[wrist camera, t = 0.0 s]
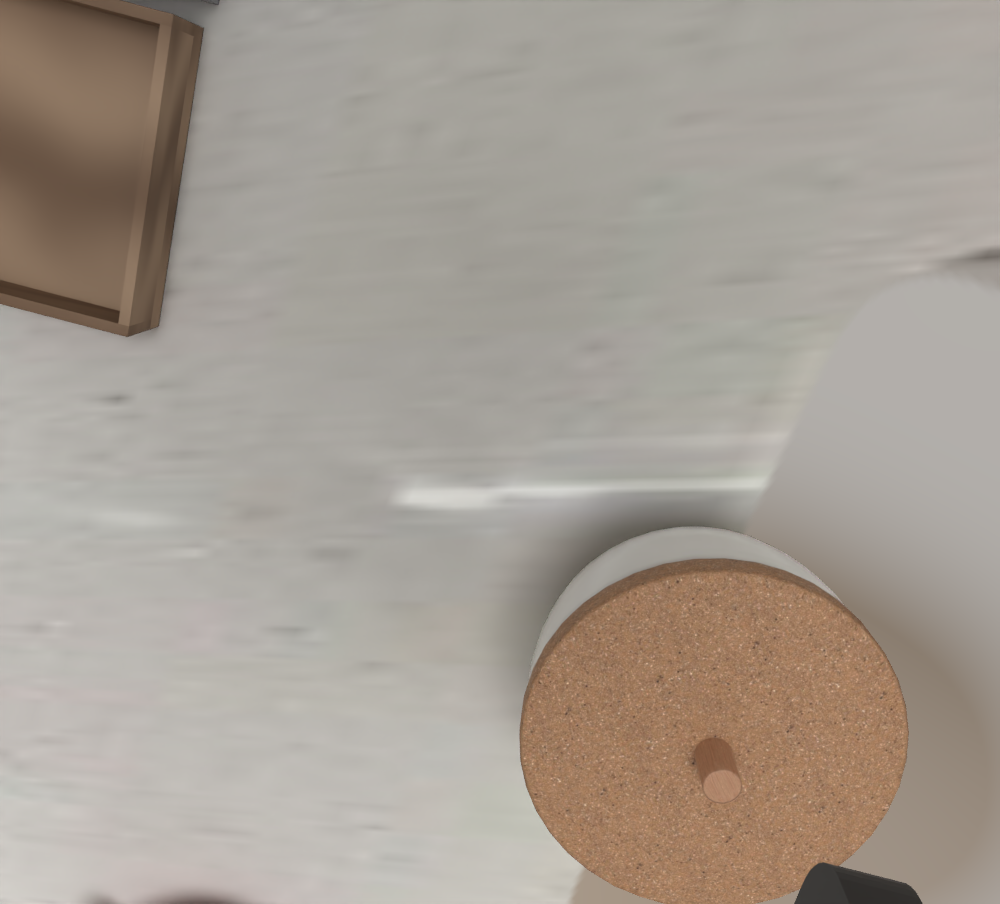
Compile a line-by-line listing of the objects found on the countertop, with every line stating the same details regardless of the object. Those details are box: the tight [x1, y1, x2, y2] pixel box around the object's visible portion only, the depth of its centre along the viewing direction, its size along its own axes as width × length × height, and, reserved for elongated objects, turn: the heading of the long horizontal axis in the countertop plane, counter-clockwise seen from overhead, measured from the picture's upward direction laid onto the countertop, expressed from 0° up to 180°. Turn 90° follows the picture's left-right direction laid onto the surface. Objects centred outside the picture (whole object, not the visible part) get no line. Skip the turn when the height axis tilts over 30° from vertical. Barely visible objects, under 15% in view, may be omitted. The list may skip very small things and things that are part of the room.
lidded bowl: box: [520, 526, 909, 904], centre depth 34 cm, size 13×13×11 cm
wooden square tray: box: [0, 0, 204, 337], centre depth 34 cm, size 11×11×3 cm
